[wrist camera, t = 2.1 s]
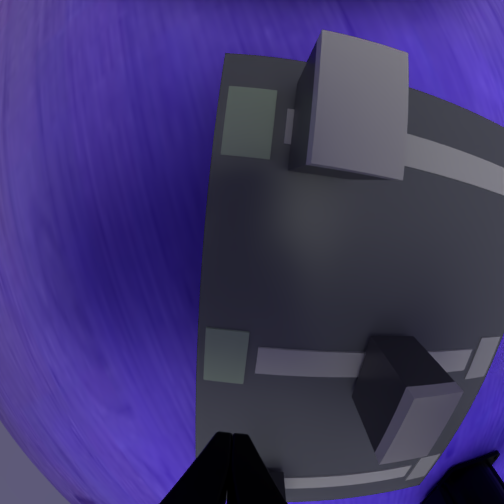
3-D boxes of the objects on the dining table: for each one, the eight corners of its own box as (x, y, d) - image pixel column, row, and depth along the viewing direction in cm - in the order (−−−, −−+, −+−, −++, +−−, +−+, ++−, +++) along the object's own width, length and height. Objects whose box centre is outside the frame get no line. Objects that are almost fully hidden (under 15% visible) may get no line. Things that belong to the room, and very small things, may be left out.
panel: (518, 147, 11) (538, 146, 9) (412, 470, 16) (419, 485, 14) (228, 67, 10) (225, 52, 9) (199, 478, 15) (196, 497, 14)
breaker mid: (413, 336, 11) (463, 391, 7) (391, 394, 12) (426, 455, 8) (370, 335, 11) (414, 398, 7) (351, 396, 12) (379, 464, 8)
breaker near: (355, 94, 9) (408, 53, 5) (347, 179, 10) (403, 180, 6) (296, 83, 9) (322, 29, 5) (288, 170, 10) (310, 163, 6)
